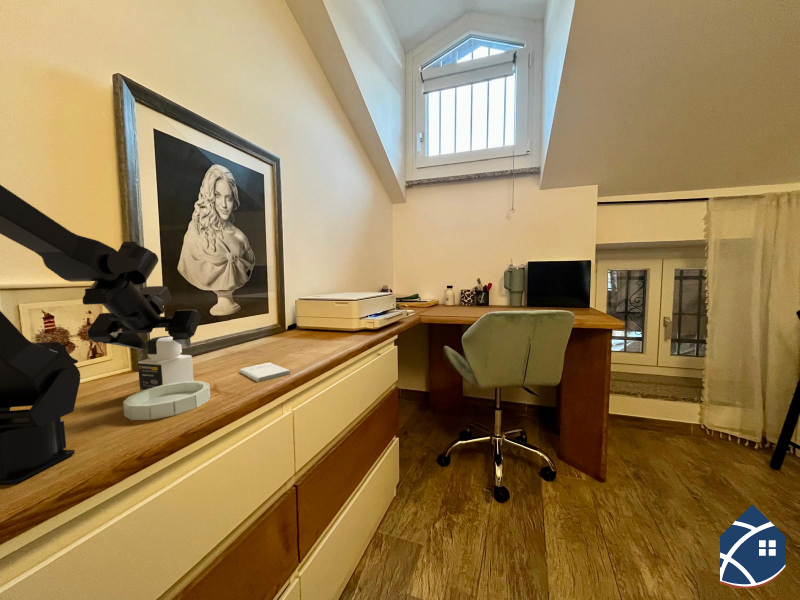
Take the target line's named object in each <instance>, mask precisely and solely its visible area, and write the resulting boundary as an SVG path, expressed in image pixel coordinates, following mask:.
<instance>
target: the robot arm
mask: <svg viewBox="0 0 800 600" xmlns="http://www.w3.org/2000/svg"><path fill="white" fill-rule="evenodd" d="M0 235H2V236H4V237H6V238H7V239H9V240H10V241H13V242H14V243H16V244H19V245H21V246H22V247H24V248H26V249H28V250H30V251H32V252H34V253H35V254H37V255H38V256H40V257H41V259H42V262H43V265H44V266H45V267H46V268H47V269H48V270H50V271H51V272H53V273H54V274H55V275H57V276H58V277H60V278H61V279H63V280H64V281H67V282H70V283H71V282H73V283H75V282H77V283H82V282H93V283H92V284H91V286H90V287H89V288H87V287H86V288H85V289H84V294H83V297H82V304H83V305H88V306H89V305H101V306H103V307H104V308H105V309H106V310H107V311H108V312H102V313H101V312H100V313H99V314H98V315H97V317H96V318H95V320H94V321H93V322H92V324H91V325H90V327H89V328H88V330H87V331H86V332H87V334H86V335H87V338H89V340H91V342H93V343H96V344H97V343H102V344H104V345H107V344H108V345H115V346H119V347H126V348H132V349H136V350H141V351H145V350H146V349H147V343H146V342H145V341H144V340H143V338H141V336H140V335H139V334H147V333H148V334H151V333H152V332H153V329H164V328H167V334H168V336H171V337H173V339H172V340H174V341H176V342H177V343H179V344H181V346H183V347H185V348H190V347H191V344H192V343H191V342H192V341H191V339H192V337H194V336H195V334H196V332H197V328H198V327H199V324H200V322H201V318H202V315H201V314H200V312H199V311H198V310H197V308H195V309H178V310H175V311H174V314H173V315H170V316H169V315H168V316H167V315H166V316H161V314H162V315H163V314H164V313H165V311H166V308H165V307H164V306H165V305H167V304H168V302H171V301H172V297H171V292H169V289H168V286H165V285H159V286H158V285H156V286H155V285H153V286H145V287H144V286H143V287H140V285H143V284H144V283H146V282H147V280H148V279H149V277H150V276H151V274H152V273H153V272H154V270H155V268H156V266H157V265H158V263H159V257H158V255H157V254H156V253H155V252H153V251H152V250H150V249H149V248H146V247H145V246H144V247H143V246H141V245H139V244H138V243H137V242H136V241H123V242H122V243H121V245H120V247H119V249H118V250H116V249H115V248H113V247H112V246H109V245H107V244H106V243H103V242H101V241H99V240H97V239H94V238H90V237H85V236H83V235H80V234H79V235H78V234H76V233H74V232H73V231H71V230H69V229H67V227H64V226H63V225H61V224H60V223H59V222H57V221H55V219H52V218H51V217H50V216H48V215H47V214H45V213H43V212H42V211H41V210H39V209H37V207H35V206H33V205H32V204H30V203H29V202H27V201H25V200H24V199H23V198H21V197H19V196H18V195H17V194H15V193H14V192H12V191H11V190H9V189H8V188H6V187H4V186H3V185H1V184H0ZM138 285H139V286H138ZM78 362H79V360H78V359H75V358H73V356H71V355H70V354H69V352H68V350H67V348H66V347H65V346H64V345H63V344H62V343H61V342H59V341H46V342H32V341H30V340H29V339H27V337H25V336H24V334H23V333H22V332H21V330H19V329H18V328H17V327H16V326H15V325H14V323H12V321H11V320H9V318H8V317H7V316H6V315H5V314H4V312H3V311H1V310H0V484H1V485H2V484H7V485H8V484H9V485H10V484H12V485H13V484H18V483H20V482H22V481H24V480H26V479H28V478H30V477H32V476H33V475H36V474H37V473H40V472H41V471H44V470H45V469H47V468H50V467H52V466H53V465H56V464H57V463H60V462H61V461H63V460H65V459H67V458H69V457H71V456H72V455H74V454H75V453H76V451H75V449H66V448H67V438H66V427H65V420H63V419H62V417H64V416H67V415H69V414H71V413H73V412H74V410H75V406H76V401H77V397H78V392H79V387H80V383H81V372H80V370H79V369H78V366H77V365H76V364H77V363H78ZM19 407H20V408H21V407H22V408H23V407H30V408H29V409H15V410H11V408H19Z"/></svg>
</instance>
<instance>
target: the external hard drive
mask: <svg viewBox="0 0 800 600" xmlns="http://www.w3.org/2000/svg"><path fill="white" fill-rule="evenodd" d="M239 373H240V374H242V375H244V376H245V377H248V378H249V379H251V380H253V381H255V382H257V383H261V382H264V380H265V381H267V380H268V379H269V380H272V378H273V379H275V378H276V377H277V378H279V376H280V377H283V375H284V376H287V375H286V374H288V375H291V374H290V373H291V370H289V369H287V368H284V367H282V366H280V365H277V364H274V363H272V362H265V363H261V364H256V365H251V366H246V367H242V368H240V369H239ZM269 380H268V381H269Z"/></svg>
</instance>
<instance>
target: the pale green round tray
mask: <svg viewBox="0 0 800 600" xmlns="http://www.w3.org/2000/svg"><path fill="white" fill-rule="evenodd" d="M210 386H211V385H210V383H209V382H206V381H203V380H194V381H186V382H185V381H184V382H178V383H171V384H166V385H161V386H157V387H153V388H149V389H146V390H143V391H141V392H140V391H138V392H136V393H134V394H131V395H129V396H127V398H125V400H124V401H123V402H122V403H123V405H122V406H123V415H124V417H125V418H127V419H129V420H130V421H150V420H156V419H161V418H167V417H172V416H175V415H181V414H183V413H185V412H189V411H191V410H194V409H196V408H199V407H200V406H203V405H204V404H206V403H207V402H209V400H210V398H211V387H210Z"/></svg>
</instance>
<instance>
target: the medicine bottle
mask: <svg viewBox="0 0 800 600" xmlns="http://www.w3.org/2000/svg"><path fill="white" fill-rule="evenodd" d="M172 339H173V337H171V336H170V335H162V336H155V337H152V338H150V339H149V340H147V341H146V345H147V347H146V349H147V357H148V358H146V359H143V360H139V361H138V362H137V368H138V379H139V381H138V383H139V392H141V391H143V390H146V389H149V388H153V387H157V386H161V385H166V384H171V383H178V382H184V381H185V382H186V381H195V380H194V369H193V367H194V366H193V356H192V355H190V354H182V352H183V350H182V345H181V344H179V343H177V342H176V341H174V340H172Z"/></svg>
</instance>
